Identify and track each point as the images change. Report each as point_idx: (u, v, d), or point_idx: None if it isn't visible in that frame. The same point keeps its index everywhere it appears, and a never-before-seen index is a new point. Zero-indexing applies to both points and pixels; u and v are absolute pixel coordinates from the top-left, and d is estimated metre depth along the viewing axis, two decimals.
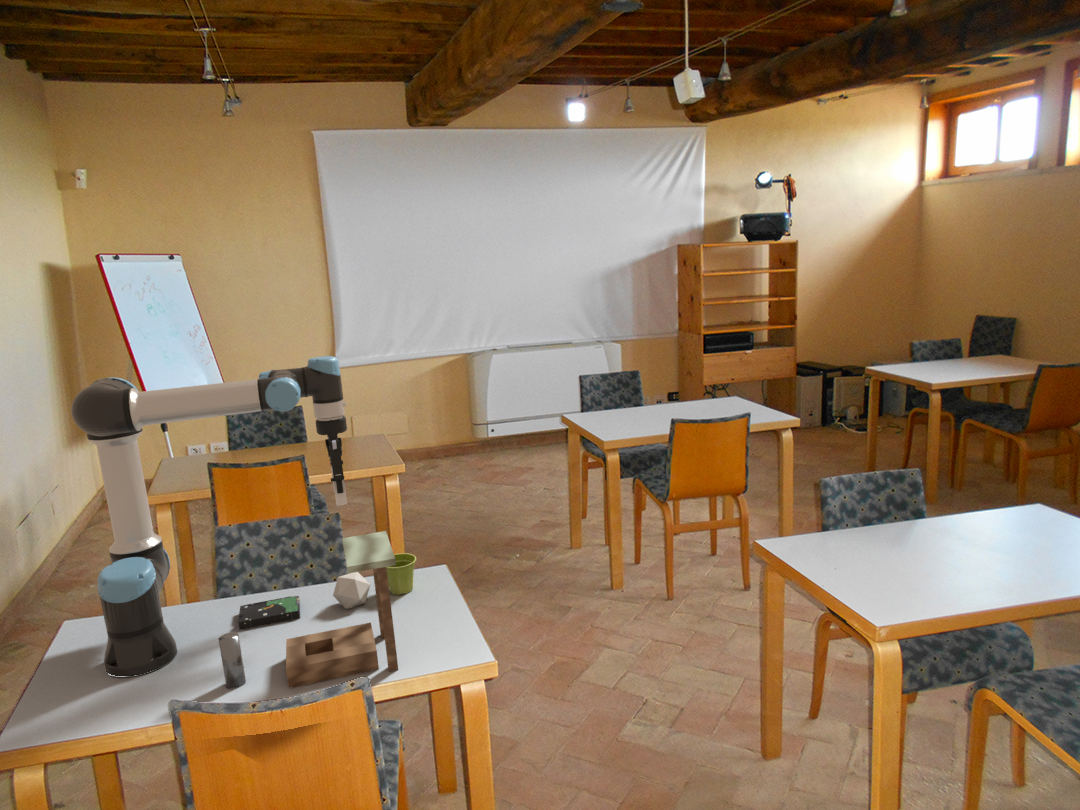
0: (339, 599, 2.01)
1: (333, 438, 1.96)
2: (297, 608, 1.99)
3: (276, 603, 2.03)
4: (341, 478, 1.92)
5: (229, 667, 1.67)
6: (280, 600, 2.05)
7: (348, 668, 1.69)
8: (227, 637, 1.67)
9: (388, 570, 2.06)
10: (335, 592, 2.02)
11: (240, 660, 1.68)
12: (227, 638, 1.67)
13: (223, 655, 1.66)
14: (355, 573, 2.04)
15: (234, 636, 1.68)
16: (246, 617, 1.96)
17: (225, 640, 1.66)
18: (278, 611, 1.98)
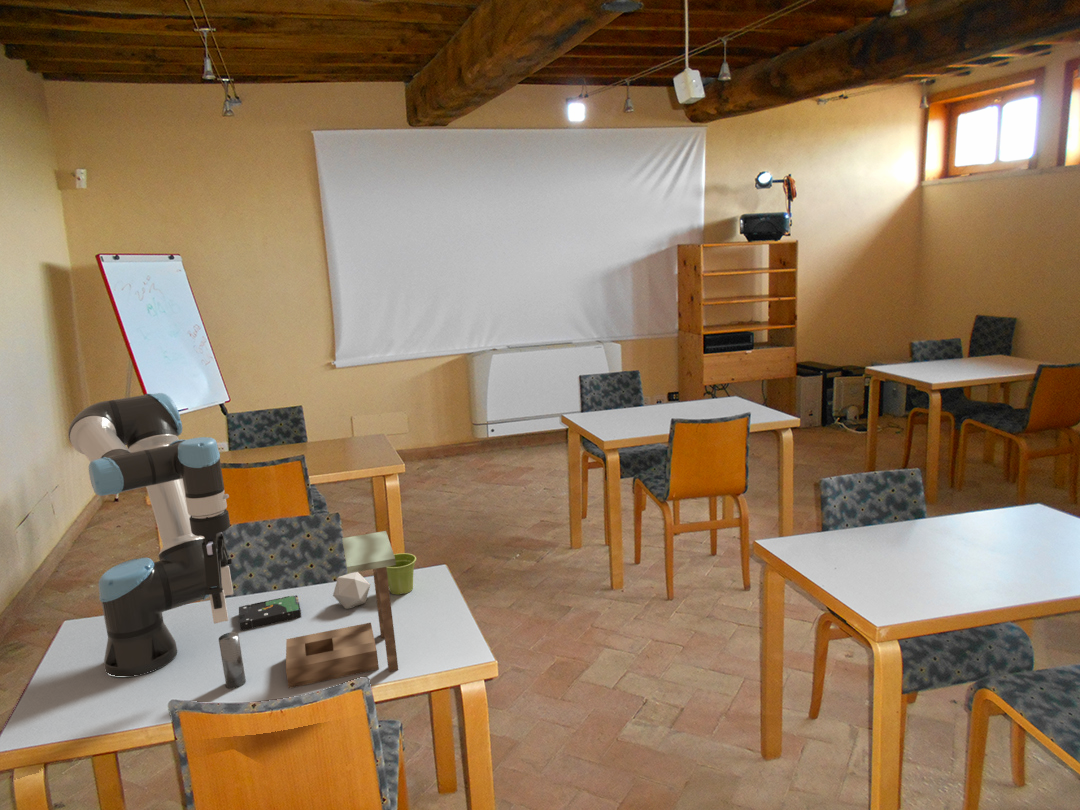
0: (339, 599, 2.01)
1: (210, 540, 1.59)
2: (298, 607, 2.00)
3: (275, 603, 2.03)
4: (217, 592, 1.55)
5: (229, 667, 1.67)
6: (279, 599, 2.05)
7: (348, 668, 1.69)
8: (227, 637, 1.67)
9: (388, 570, 2.06)
10: (335, 592, 2.02)
11: (240, 660, 1.68)
12: (227, 638, 1.67)
13: (223, 655, 1.66)
14: (355, 573, 2.04)
15: (234, 636, 1.68)
16: (247, 617, 1.96)
17: (226, 640, 1.66)
18: (279, 611, 1.99)
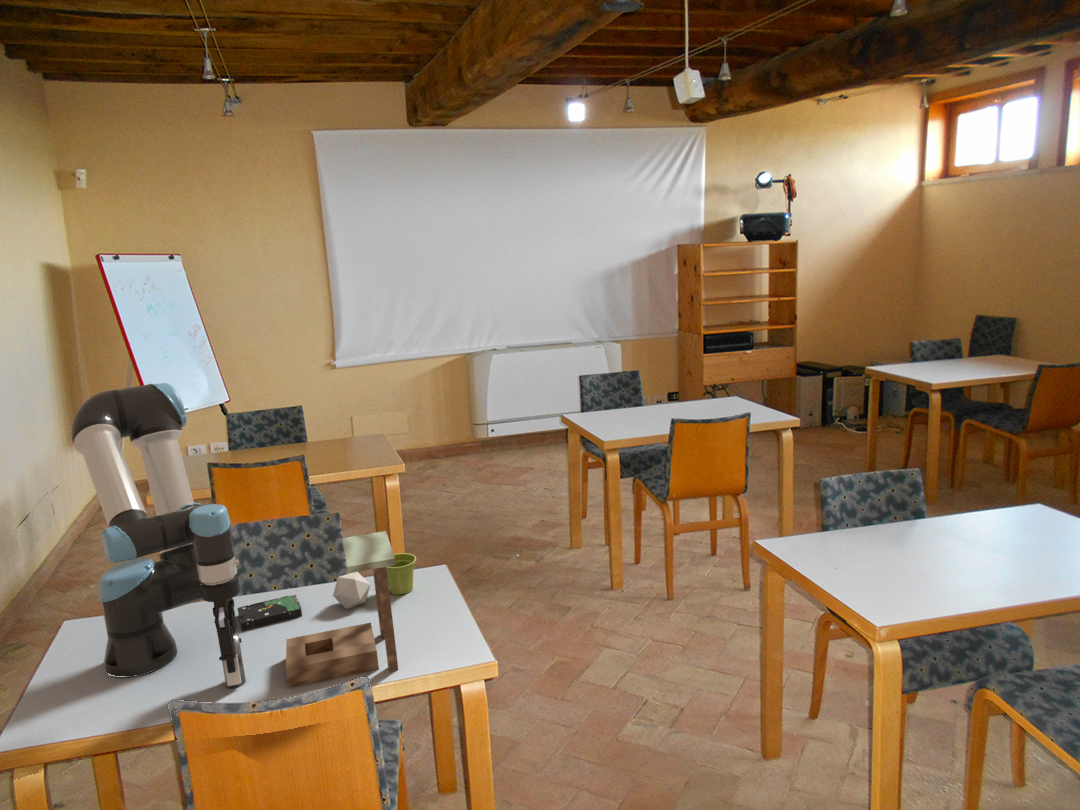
0: (339, 599, 2.01)
1: (221, 606, 1.62)
2: (298, 606, 2.00)
3: (275, 603, 2.03)
4: (231, 658, 1.63)
5: None
6: (278, 599, 2.05)
7: (348, 668, 1.69)
8: None
9: (388, 570, 2.06)
10: (335, 592, 2.02)
11: (240, 660, 1.68)
12: None
13: None
14: (355, 573, 2.04)
15: (234, 636, 1.68)
16: (247, 618, 1.96)
17: None
18: (279, 610, 1.99)
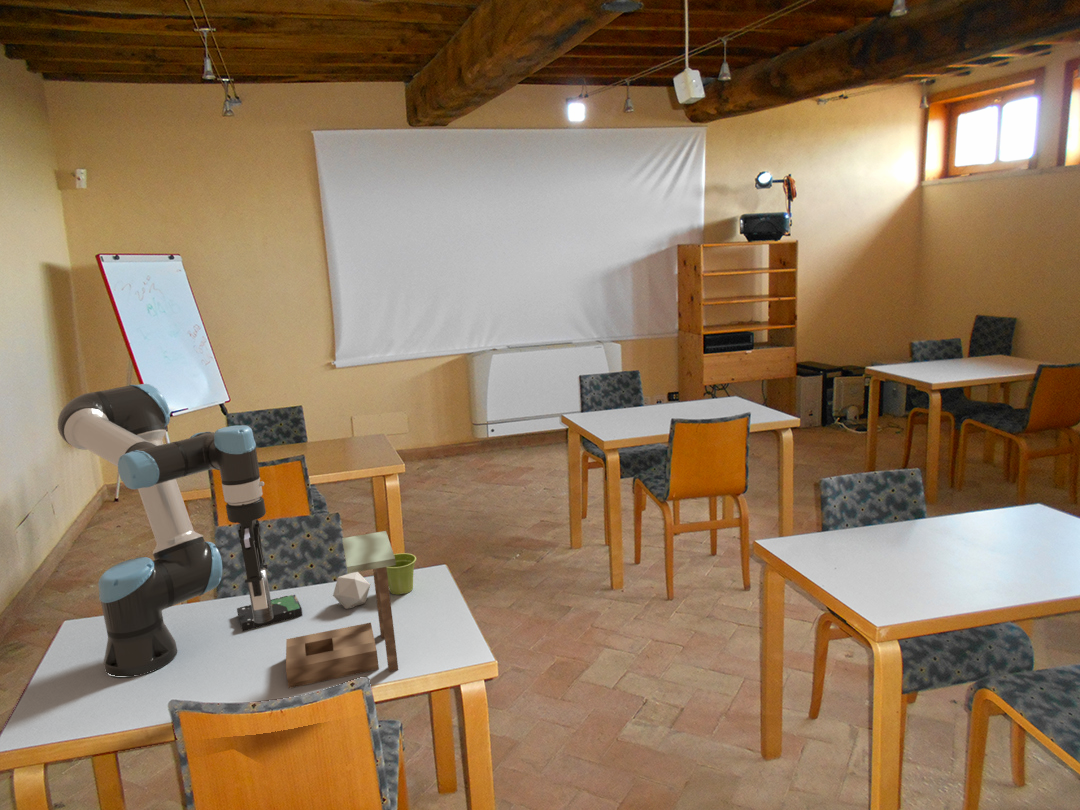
0: (339, 599, 2.01)
1: (246, 526, 1.61)
2: (298, 606, 2.01)
3: (274, 603, 2.03)
4: (257, 579, 1.61)
5: None
6: (278, 599, 2.05)
7: (348, 668, 1.69)
8: None
9: (388, 570, 2.06)
10: (335, 592, 2.02)
11: (268, 595, 1.67)
12: None
13: None
14: (355, 573, 2.04)
15: (261, 570, 1.66)
16: (248, 618, 1.96)
17: None
18: (280, 610, 1.99)
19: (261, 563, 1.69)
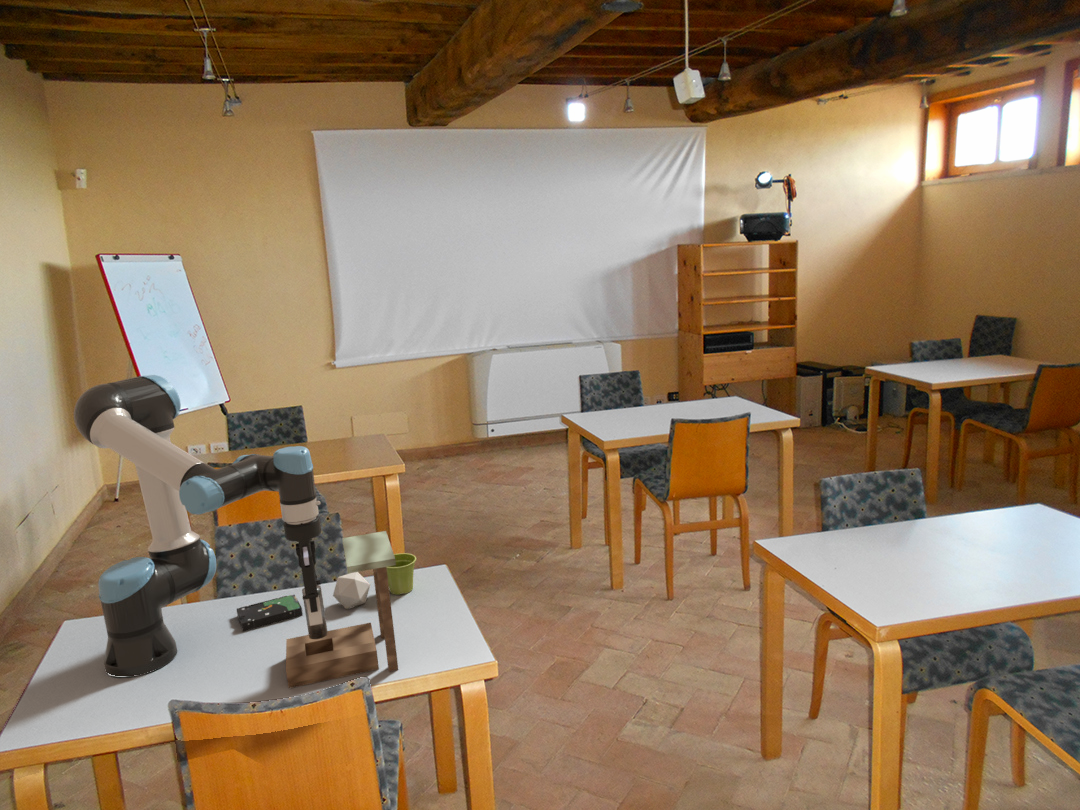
0: (339, 599, 2.01)
1: (304, 545, 1.65)
2: (298, 605, 2.01)
3: (274, 603, 2.03)
4: (314, 596, 1.66)
5: None
6: (277, 599, 2.05)
7: (348, 668, 1.69)
8: None
9: (388, 570, 2.06)
10: (335, 592, 2.02)
11: (323, 611, 1.71)
12: None
13: None
14: (355, 573, 2.04)
15: (317, 588, 1.71)
16: (248, 618, 1.96)
17: None
18: (280, 610, 1.99)
19: None
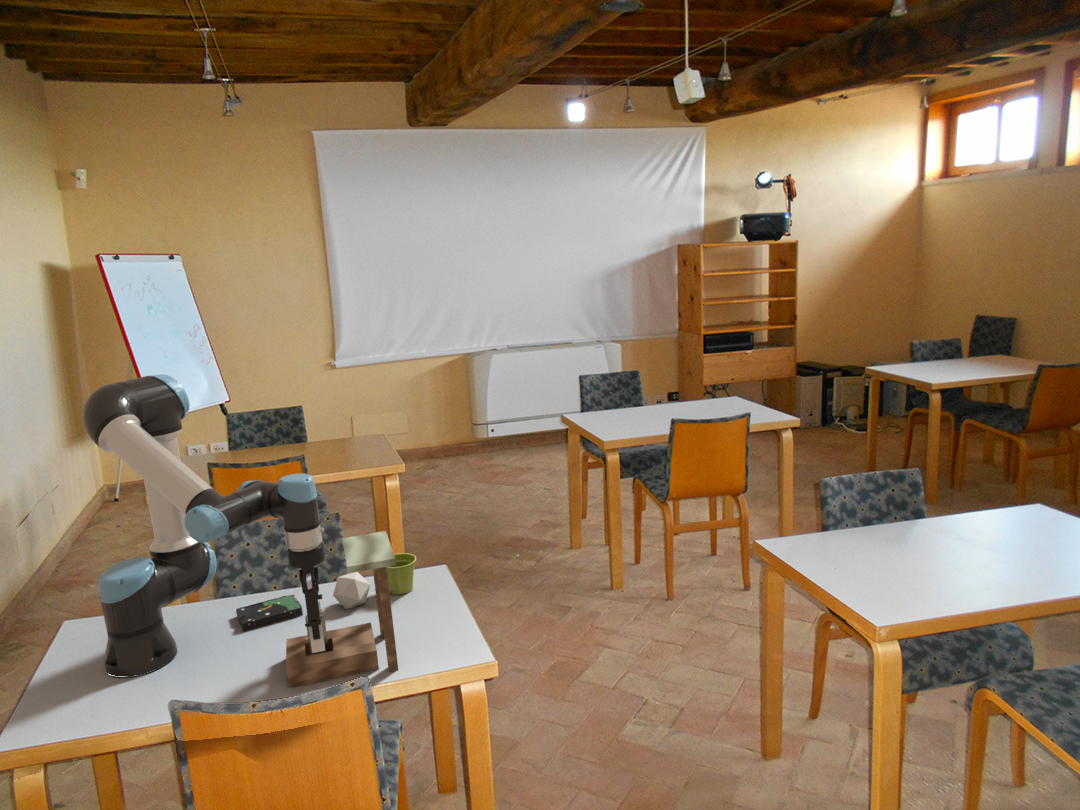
0: (339, 599, 2.01)
1: (308, 572, 1.66)
2: (299, 605, 2.01)
3: (274, 603, 2.03)
4: (317, 624, 1.64)
5: None
6: (277, 599, 2.05)
7: (348, 668, 1.69)
8: None
9: (388, 570, 2.06)
10: (335, 592, 2.02)
11: (325, 638, 1.73)
12: None
13: None
14: (355, 573, 2.04)
15: (320, 615, 1.72)
16: (248, 618, 1.96)
17: None
18: (280, 610, 1.99)
19: (317, 596, 1.77)
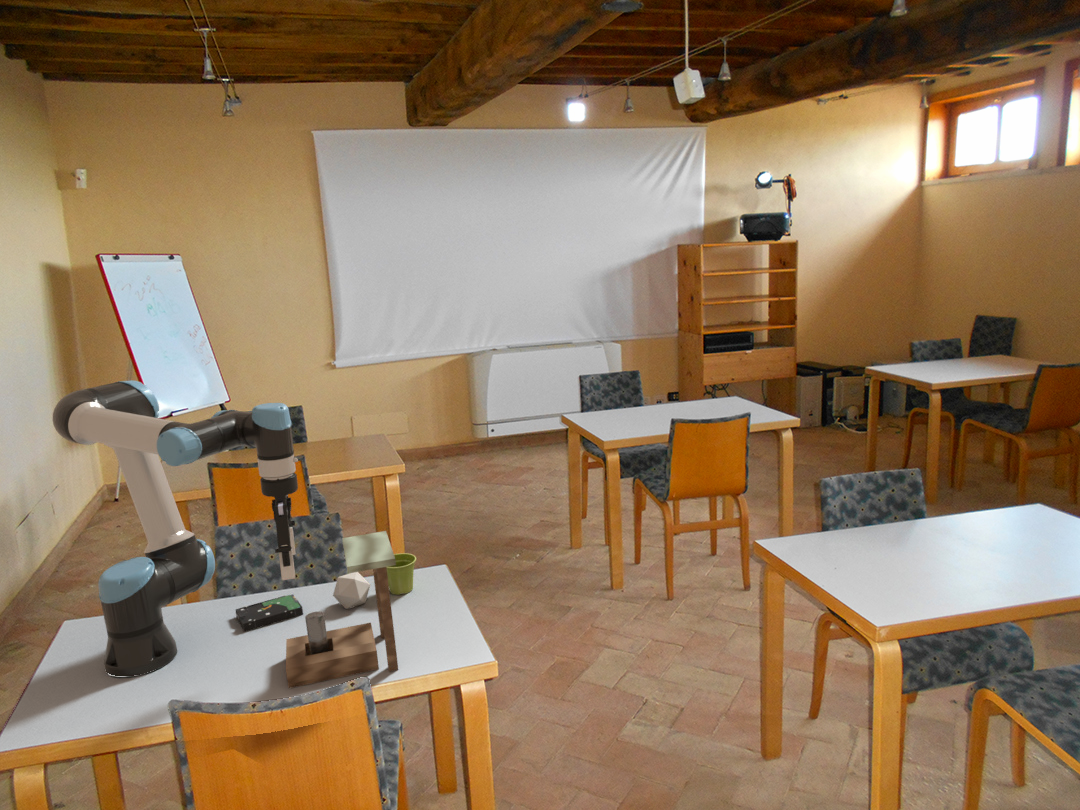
0: (339, 599, 2.01)
1: (280, 500, 1.67)
2: (299, 605, 2.01)
3: (273, 603, 2.03)
4: (287, 550, 1.63)
5: (316, 645, 1.72)
6: (276, 599, 2.05)
7: (348, 668, 1.69)
8: (313, 616, 1.72)
9: (388, 570, 2.06)
10: (335, 592, 2.02)
11: (325, 638, 1.73)
12: (313, 617, 1.72)
13: (310, 633, 1.71)
14: (355, 573, 2.04)
15: (320, 615, 1.72)
16: (248, 618, 1.95)
17: (313, 619, 1.71)
18: (280, 610, 1.99)
19: (290, 523, 1.78)
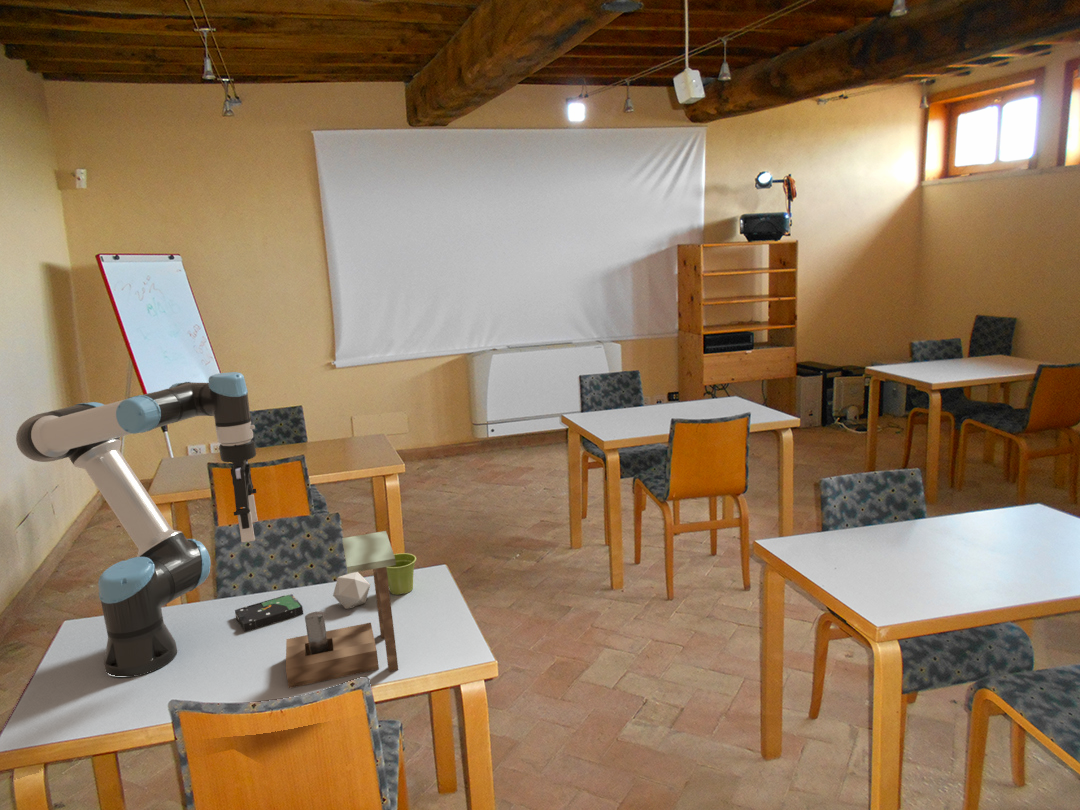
0: (339, 599, 2.01)
1: (238, 466, 1.73)
2: (299, 604, 2.01)
3: (273, 603, 2.03)
4: (245, 512, 1.69)
5: (315, 645, 1.72)
6: (275, 599, 2.05)
7: (348, 668, 1.69)
8: (313, 616, 1.72)
9: (388, 570, 2.06)
10: (335, 592, 2.02)
11: (325, 638, 1.73)
12: (313, 617, 1.72)
13: (310, 634, 1.71)
14: (355, 573, 2.04)
15: (319, 615, 1.72)
16: (249, 618, 1.95)
17: (312, 619, 1.70)
18: (280, 609, 1.99)
19: (251, 490, 1.84)
